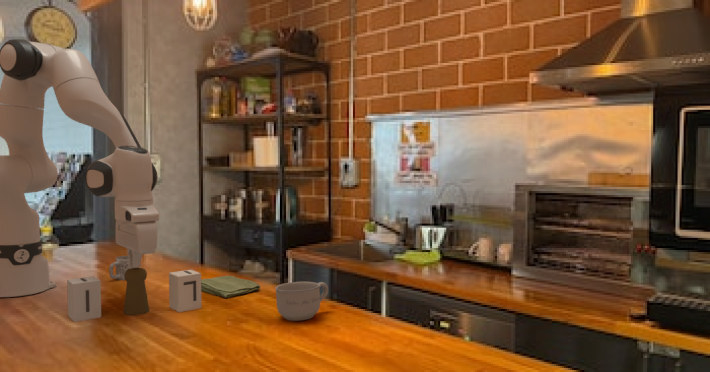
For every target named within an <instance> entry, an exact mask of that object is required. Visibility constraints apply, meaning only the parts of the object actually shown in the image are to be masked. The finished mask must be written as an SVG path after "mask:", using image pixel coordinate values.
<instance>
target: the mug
mask: <svg viewBox="0 0 710 372" xmlns="http://www.w3.org/2000/svg"><path fill="white" fill-rule="evenodd" d="M114 267H115V274H114ZM131 268H134V267H132V266H130V261H129V256H128V255H121V256H117V257H115V261H114V262H112V263H111V264H110V265H109V267H108V272H109V273H108V274H109V277H110V279H115V280H118V281H126V280H125V278H124V275H125V272H126V270H128V269H131Z"/></svg>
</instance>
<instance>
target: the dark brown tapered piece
mask: <svg viewBox="0 0 710 372" xmlns="http://www.w3.org/2000/svg"><path fill="white" fill-rule="evenodd" d="M147 276H148V272H147V270H146V269H145V268H143V267H139V268H131V269H128V270H126V272H125V275H124V278H125V280H124V281H125V282H126V289H125V297H124V306H123V315H125V314H126V315H125V316H140V314H141V315H145V314H148V313H149V312H150V306H149V300H148V293H147V287H146V286H147V285H146V279H147ZM147 312H148V313H147Z"/></svg>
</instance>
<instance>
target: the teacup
mask: <svg viewBox="0 0 710 372" xmlns="http://www.w3.org/2000/svg"><path fill="white" fill-rule="evenodd" d="M321 287H322V289H323V290H322V293H320V292H321V291H320V288H321ZM274 289H275V296H276V297H275V298H276V309H277V312H278V313H279V315H281V316H282V317H283V318H284V319H285V320H287V321H293V322H298V321H305V320H310V319H311V318H313V317H314V316H315V315H316V314H317V313H318V312H319V310H320V307H321V303H322V301H323V300H324V299H325V298H326V297H327V295H328V293H329V286H328V285H327V283H326V282H323V281H320V282H313V281H293V282H287V283H286V282H285V283H280V284H279V285H277V286H275V288H274Z"/></svg>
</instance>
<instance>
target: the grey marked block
mask: <svg viewBox="0 0 710 372" xmlns="http://www.w3.org/2000/svg"><path fill="white" fill-rule="evenodd" d="M101 286H102V285H101V280H100V279H98V278H97V277H95V276H93V275H91V276H87V277H86V276H85V277H78V278H72V279H71V278H69V279H66V289H67V316H68V318H69V319H70V320H71V321H72V322H74V323H76V322H82V321H87V320H93V319H98V318H102V293H101V292H102V290H101V288H102V287H101Z"/></svg>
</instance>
